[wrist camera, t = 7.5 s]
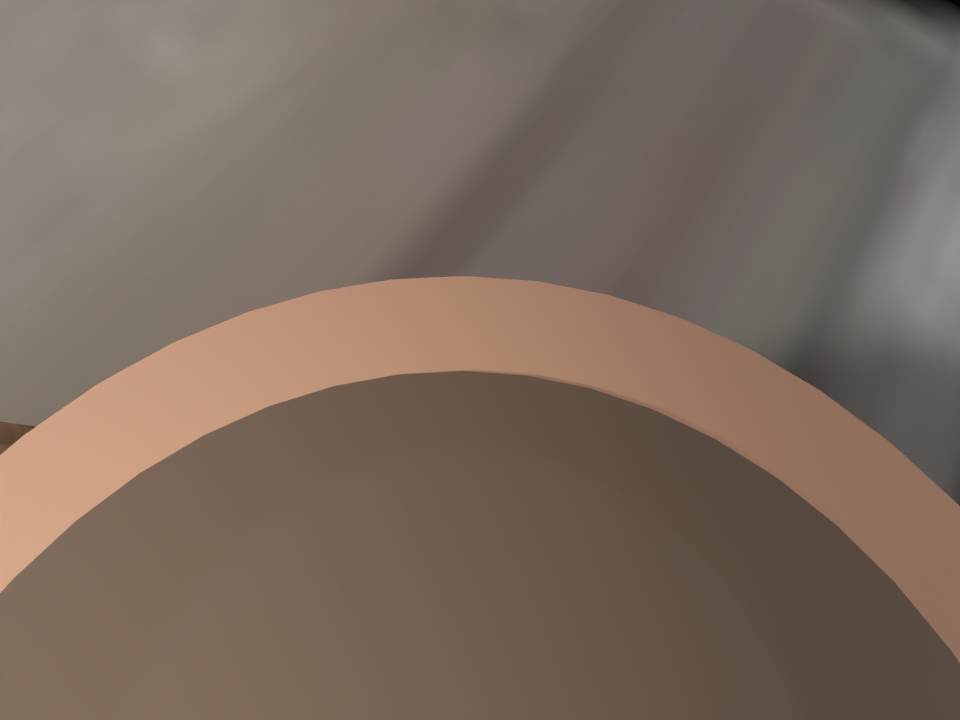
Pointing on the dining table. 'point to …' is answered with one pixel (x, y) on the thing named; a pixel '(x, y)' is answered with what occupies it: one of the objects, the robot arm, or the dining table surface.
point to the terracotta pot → (470, 526)
